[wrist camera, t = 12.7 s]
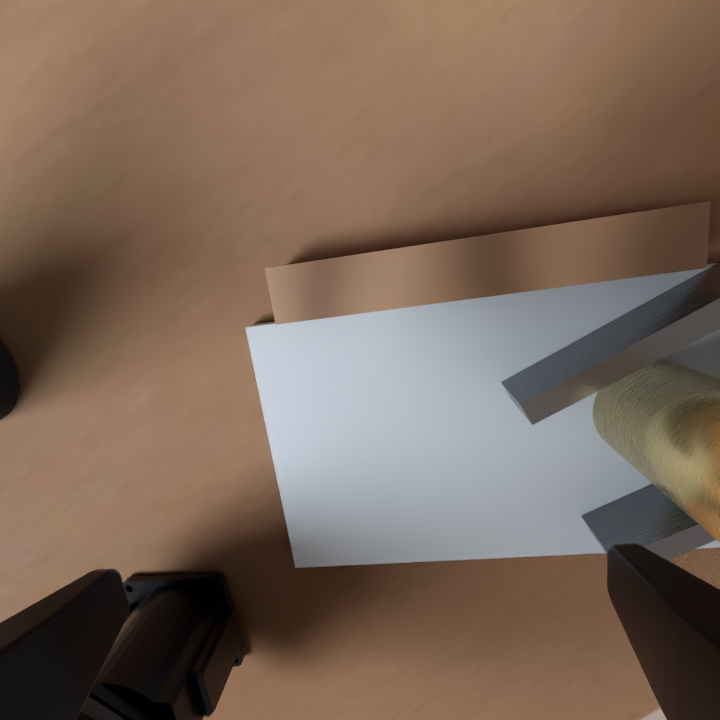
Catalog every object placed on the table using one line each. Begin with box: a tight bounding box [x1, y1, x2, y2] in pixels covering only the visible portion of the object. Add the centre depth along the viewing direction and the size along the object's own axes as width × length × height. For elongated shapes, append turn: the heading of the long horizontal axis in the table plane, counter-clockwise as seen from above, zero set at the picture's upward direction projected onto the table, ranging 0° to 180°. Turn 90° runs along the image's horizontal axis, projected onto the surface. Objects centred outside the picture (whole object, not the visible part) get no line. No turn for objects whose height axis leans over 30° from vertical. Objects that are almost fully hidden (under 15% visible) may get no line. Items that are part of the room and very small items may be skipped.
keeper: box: [501, 262, 720, 560], centre depth 16 cm, size 10×9×3 cm
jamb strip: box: [265, 201, 711, 325], centre depth 17 cm, size 17×2×2 cm, turn 98°
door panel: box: [245, 263, 720, 568], centre depth 19 cm, size 25×14×1 cm, turn 98°
